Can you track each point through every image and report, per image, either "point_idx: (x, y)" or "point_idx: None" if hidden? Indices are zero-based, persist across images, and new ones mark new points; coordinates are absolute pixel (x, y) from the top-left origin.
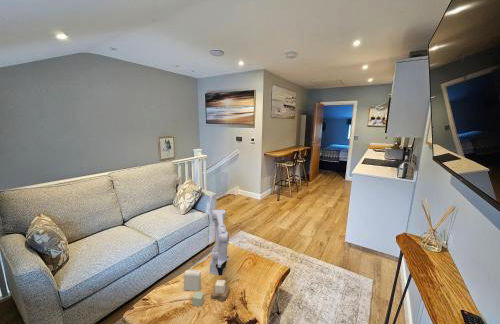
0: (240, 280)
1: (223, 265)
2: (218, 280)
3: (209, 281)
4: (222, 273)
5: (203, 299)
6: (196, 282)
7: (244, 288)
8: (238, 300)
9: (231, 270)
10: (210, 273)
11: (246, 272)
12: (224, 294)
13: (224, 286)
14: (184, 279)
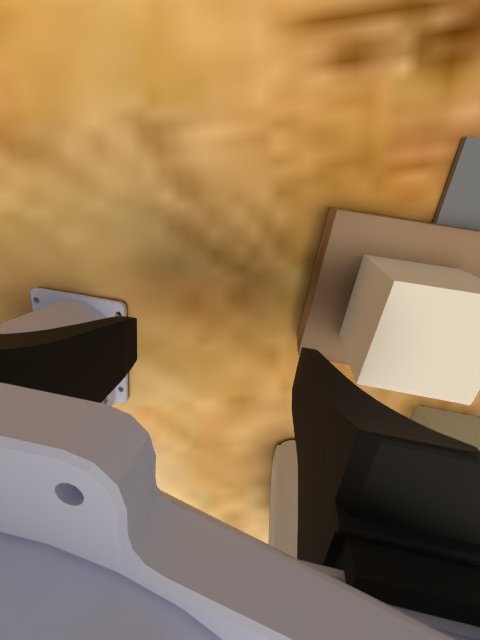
0: (158, 100)
1: (370, 486)
2: (376, 372)
3: (212, 390)
4: (315, 356)
5: (435, 417)
6: None
7: (281, 26)
8: (470, 86)
9: (38, 223)
10: (127, 394)
11: (13, 32)
12: (471, 255)
13: (430, 274)
14: None
